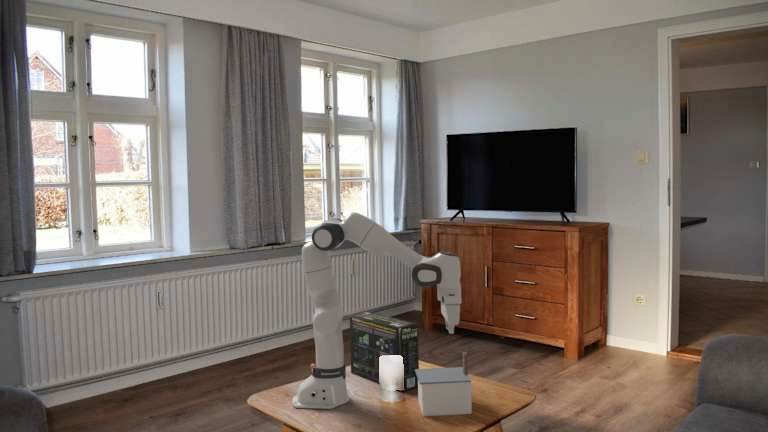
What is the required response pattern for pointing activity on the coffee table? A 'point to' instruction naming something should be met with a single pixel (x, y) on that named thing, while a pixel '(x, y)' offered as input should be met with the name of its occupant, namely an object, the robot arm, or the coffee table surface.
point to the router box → (383, 345)
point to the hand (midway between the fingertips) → (449, 331)
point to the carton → (445, 398)
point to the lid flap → (444, 374)
